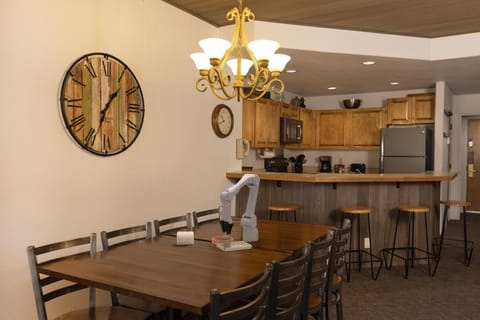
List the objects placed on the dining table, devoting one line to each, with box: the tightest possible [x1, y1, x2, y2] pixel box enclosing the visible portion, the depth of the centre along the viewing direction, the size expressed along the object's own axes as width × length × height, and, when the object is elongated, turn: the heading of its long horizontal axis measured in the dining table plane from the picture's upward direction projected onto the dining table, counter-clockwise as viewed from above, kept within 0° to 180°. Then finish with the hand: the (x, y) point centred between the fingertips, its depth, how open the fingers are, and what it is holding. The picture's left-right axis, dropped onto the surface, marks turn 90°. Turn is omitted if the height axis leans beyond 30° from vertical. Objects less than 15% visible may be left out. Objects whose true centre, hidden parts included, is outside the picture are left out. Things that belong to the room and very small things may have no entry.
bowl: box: [211, 235, 234, 246], centre depth 245 cm, size 13×13×4 cm
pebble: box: [223, 241, 231, 248], centre depth 231 cm, size 4×4×4 cm
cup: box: [176, 231, 195, 246], centre depth 244 cm, size 8×12×10 cm
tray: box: [215, 240, 253, 252], centre depth 233 cm, size 18×13×2 cm
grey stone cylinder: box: [221, 234, 230, 240], centre depth 246 cm, size 4×4×4 cm
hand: (226, 233), depth 236 cm, fingers open, 7 cm apart
